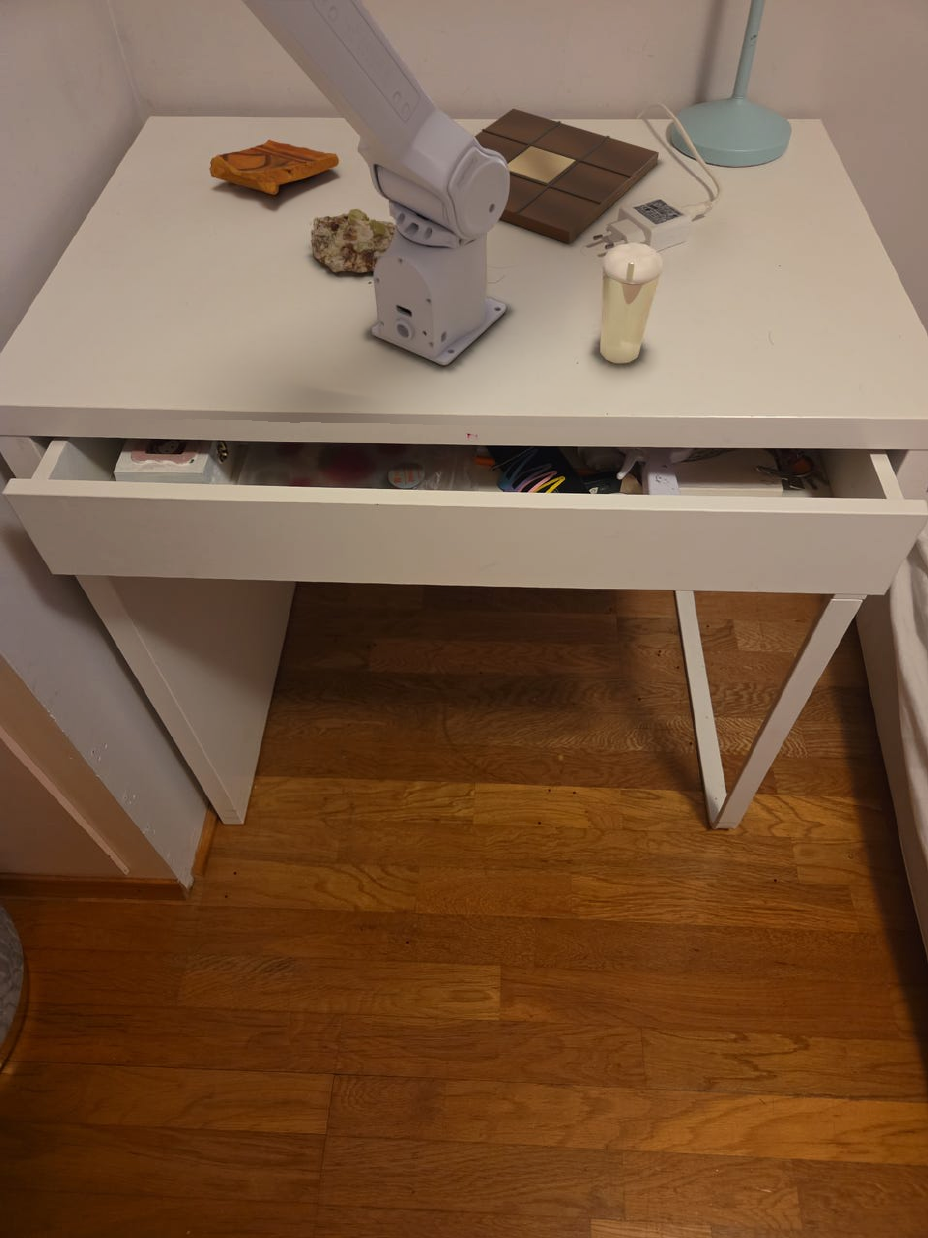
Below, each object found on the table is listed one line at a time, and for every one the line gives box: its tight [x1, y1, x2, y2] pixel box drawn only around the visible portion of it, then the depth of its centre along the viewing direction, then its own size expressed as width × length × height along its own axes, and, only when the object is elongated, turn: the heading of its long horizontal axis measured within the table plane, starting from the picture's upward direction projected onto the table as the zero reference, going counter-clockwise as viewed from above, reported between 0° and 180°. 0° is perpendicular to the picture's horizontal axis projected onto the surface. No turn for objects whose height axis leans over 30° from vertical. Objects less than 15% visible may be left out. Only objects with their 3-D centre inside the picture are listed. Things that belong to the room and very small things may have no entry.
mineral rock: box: [310, 208, 396, 274], centre depth 82 cm, size 11×4×8 cm
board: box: [474, 108, 660, 244], centre depth 91 cm, size 18×18×1 cm
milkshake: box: [599, 242, 664, 365], centre depth 70 cm, size 5×5×10 cm
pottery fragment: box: [208, 139, 340, 196], centre depth 90 cm, size 10×5×10 cm
